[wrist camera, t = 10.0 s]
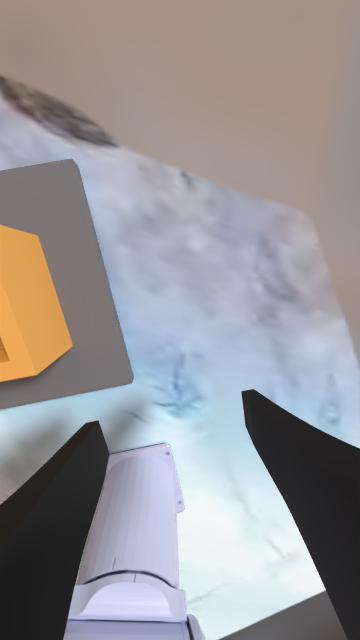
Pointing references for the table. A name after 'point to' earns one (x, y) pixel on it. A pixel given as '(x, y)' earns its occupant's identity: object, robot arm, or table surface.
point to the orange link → (27, 308)
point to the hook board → (66, 282)
